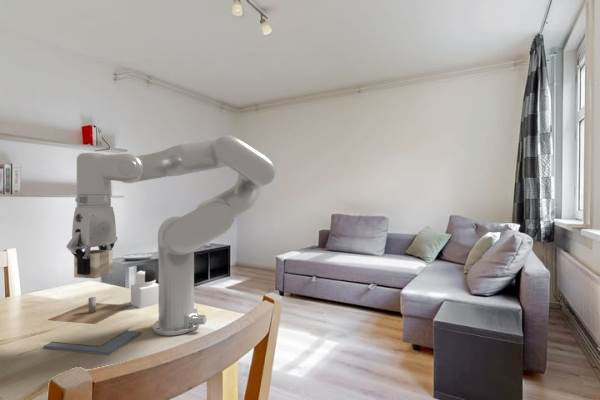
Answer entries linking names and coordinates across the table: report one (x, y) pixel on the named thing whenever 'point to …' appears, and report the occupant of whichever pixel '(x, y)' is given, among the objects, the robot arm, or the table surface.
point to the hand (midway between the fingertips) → (94, 270)
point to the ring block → (97, 264)
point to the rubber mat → (102, 349)
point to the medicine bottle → (145, 289)
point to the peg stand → (90, 312)
